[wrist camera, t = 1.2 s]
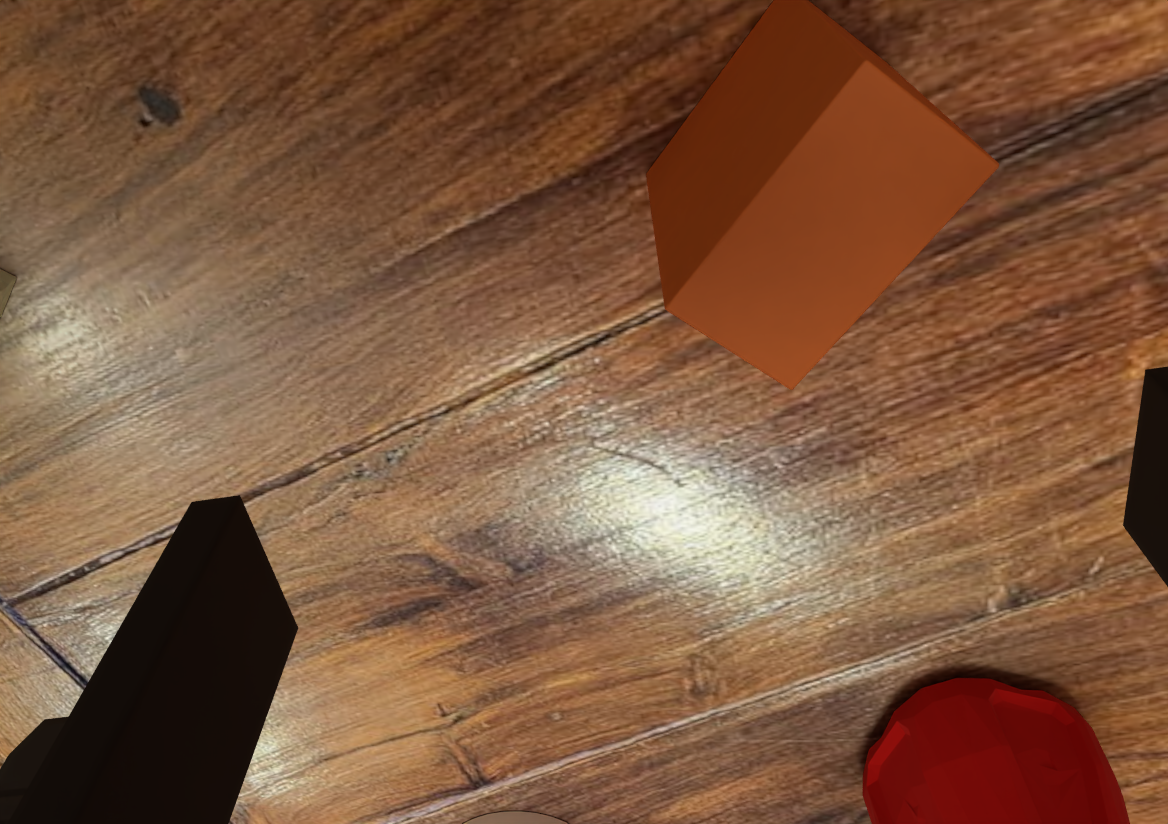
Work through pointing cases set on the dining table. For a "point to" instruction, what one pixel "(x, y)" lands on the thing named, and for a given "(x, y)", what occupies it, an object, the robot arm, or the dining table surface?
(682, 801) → the dining table surface
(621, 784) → the dining table surface
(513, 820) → the cup
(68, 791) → the robot arm
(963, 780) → the water bottle
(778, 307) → the orange rectangular prism
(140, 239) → the dining table surface
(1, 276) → the open square bin
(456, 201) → the dining table surface
